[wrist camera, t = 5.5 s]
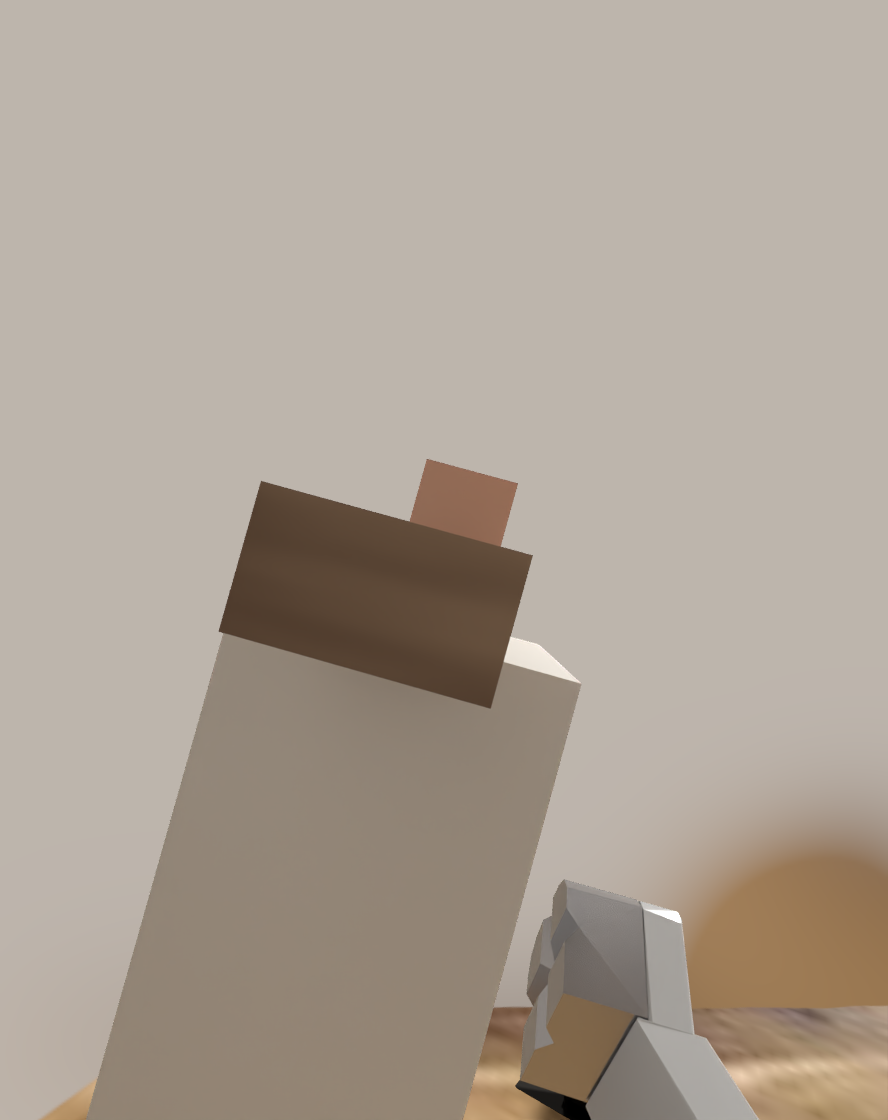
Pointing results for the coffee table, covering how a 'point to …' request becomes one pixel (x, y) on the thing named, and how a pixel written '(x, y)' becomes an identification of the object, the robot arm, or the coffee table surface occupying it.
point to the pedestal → (334, 893)
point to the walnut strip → (376, 594)
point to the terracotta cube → (463, 502)
